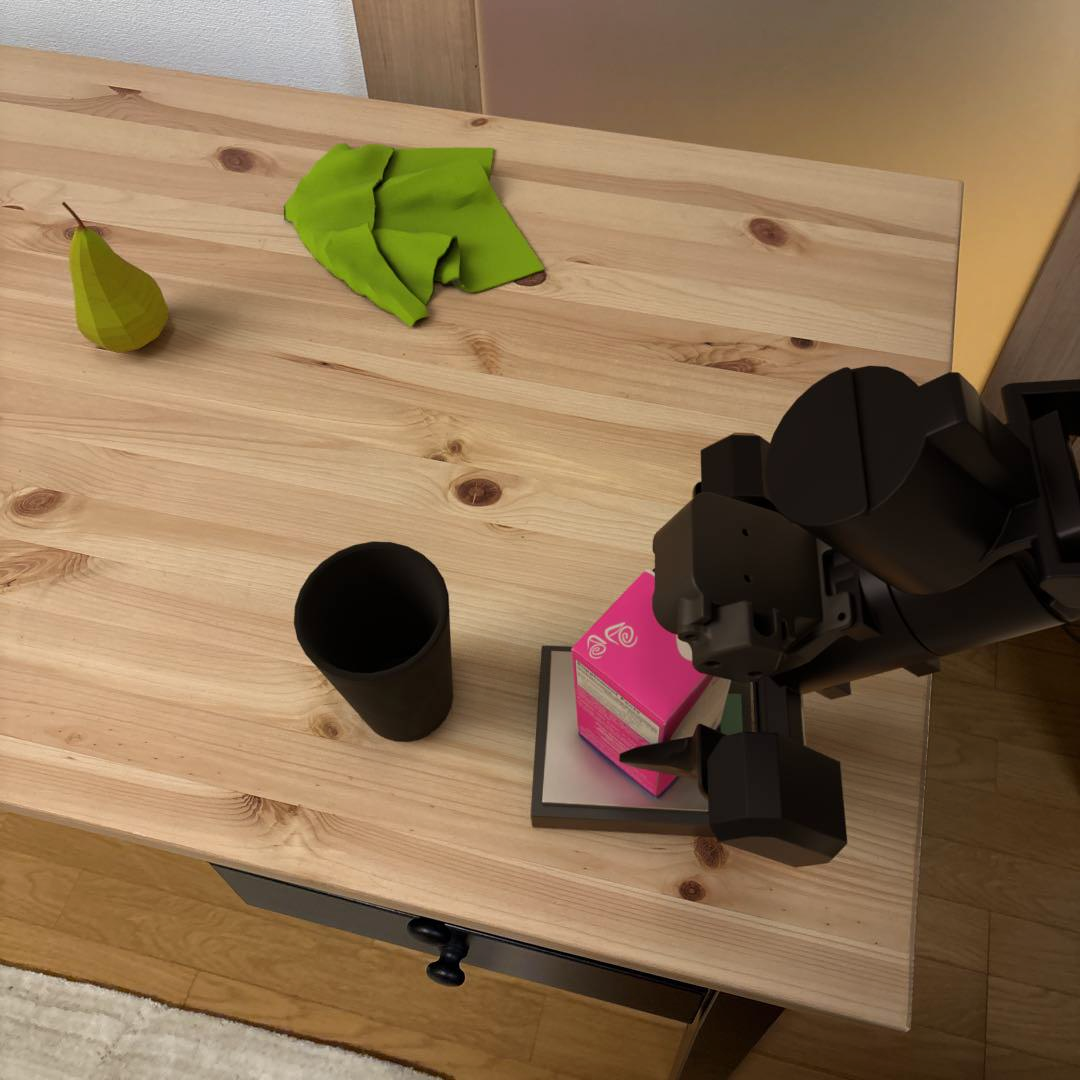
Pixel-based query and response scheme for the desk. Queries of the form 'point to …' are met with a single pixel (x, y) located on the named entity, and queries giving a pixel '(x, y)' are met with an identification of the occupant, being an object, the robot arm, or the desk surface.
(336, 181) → the cloth
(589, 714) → the supplement box
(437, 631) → the cup
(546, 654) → the scale
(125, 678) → the desk surface
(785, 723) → the robot arm
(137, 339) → the fruit
